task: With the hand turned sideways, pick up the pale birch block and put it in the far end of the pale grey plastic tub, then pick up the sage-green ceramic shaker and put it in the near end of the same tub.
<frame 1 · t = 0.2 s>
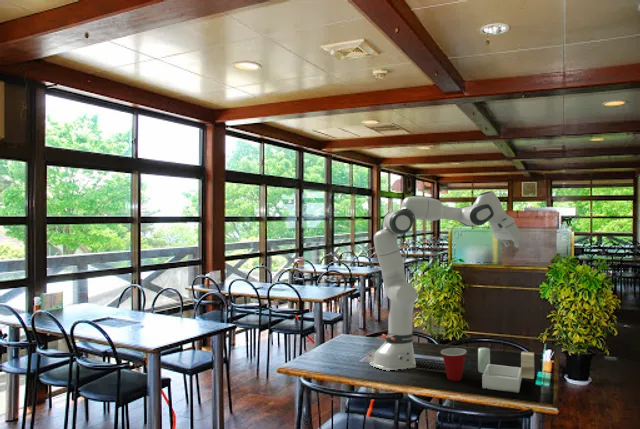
hand: (513, 246, 243), 54 cm above the table, tool tilted 30°, fingers open, 8 cm apart
plastic cup: (453, 379, 213), on the table
birch block: (527, 376, 215), on the table
ceramic shaker: (484, 371, 223), on the table
tub: (502, 383, 206), on the table
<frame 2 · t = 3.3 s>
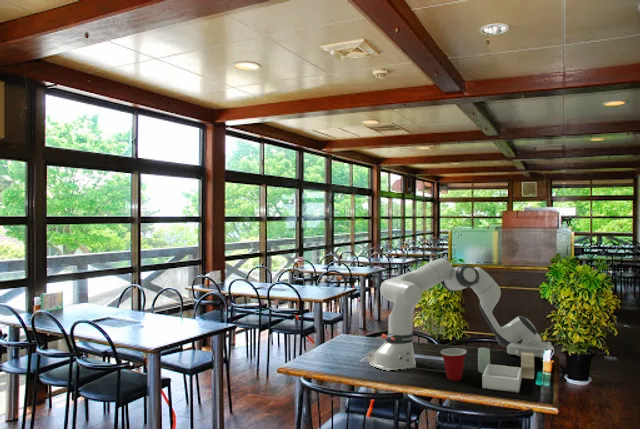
hand: (529, 355, 227), 6 cm above the table, tool horizontal, fingers open, 8 cm apart
nothing on the table moved.
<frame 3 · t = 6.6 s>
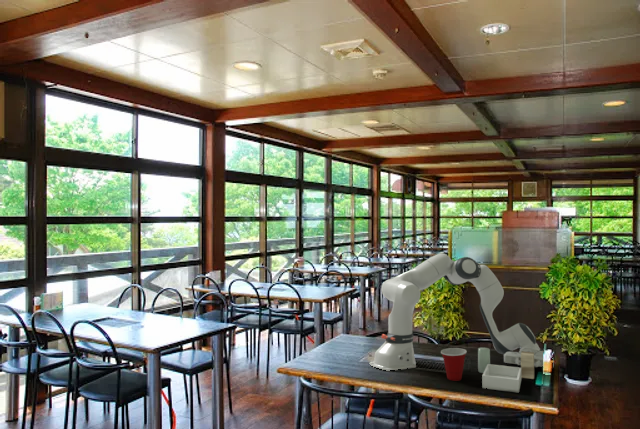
hand: (527, 364, 215), 6 cm above the table, tool horizontal, fingers closed on birch block, 5 cm apart
birch block: (527, 376, 215), on the table, touching gripper
everything else where it was.
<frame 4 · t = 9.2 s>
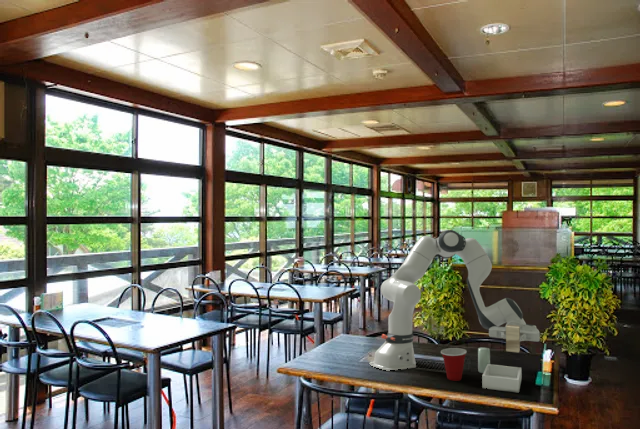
hand: (512, 337, 208), 19 cm above the table, tool horizontal, fingers closed on birch block, 5 cm apart
birch block: (513, 350, 209), point 13 cm above the table, touching gripper
everything else where it was.
when the fingers open (10 cm above the table, at t = 12.1 s): birch block drops 3 cm, resting on tub.
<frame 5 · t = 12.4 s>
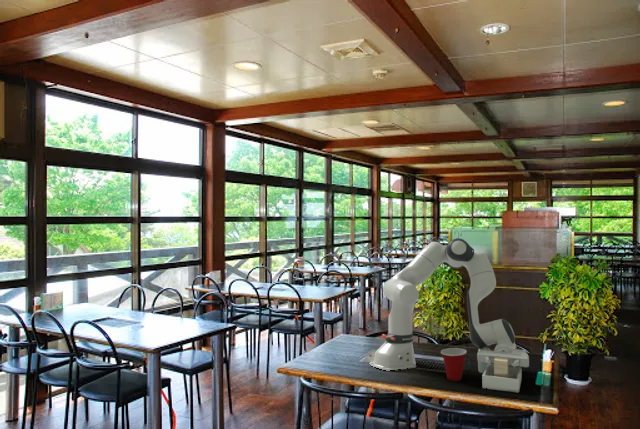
hand: (501, 363, 202), 10 cm above the table, tool horizontal, fingers open, 8 cm apart
birch block: (501, 384, 203), point 1 cm above the table, touching tub
ceramic shaker: (484, 371, 223), on the table, touching arm
everything else where it was.
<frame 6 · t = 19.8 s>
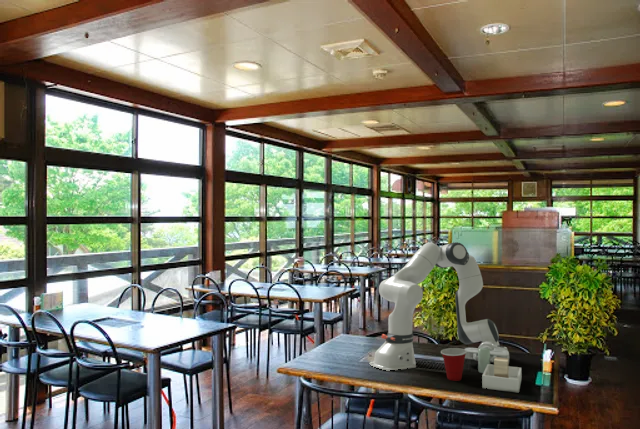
hand: (483, 359, 222), 6 cm above the table, tool horizontal, fingers closed on ceramic shaker, 5 cm apart
ceramic shaker: (484, 371, 223), on the table, touching gripper
everything else where it was.
when the fingers open (9 cm above the table, at t = 24.6 s): ceramic shaker drops 3 cm, resting on tub.
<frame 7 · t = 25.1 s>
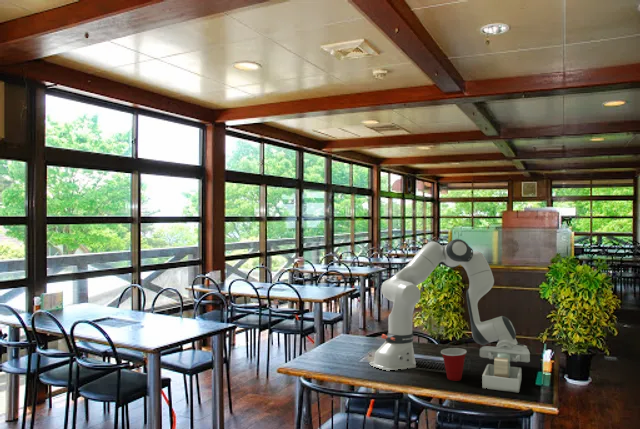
hand: (503, 358, 209), 9 cm above the table, tool horizontal, fingers open, 8 cm apart
ceramic shaker: (503, 378, 210), point 1 cm above the table, touching tub
everything else where it was.
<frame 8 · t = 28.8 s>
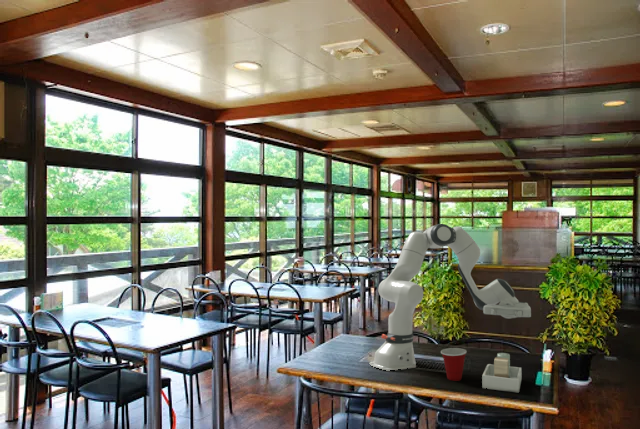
hand: (505, 313, 221), 26 cm above the table, tool horizontal, fingers open, 8 cm apart
nothing on the table moved.
at the end: birch block inside the target area on the tub (3.9 cm from its centre), point 1.0 cm above the tub's base; ceramic shaker inside the target area on the tub (4.1 cm from its centre), point 1.0 cm above the tub's base; the gripper is holding nothing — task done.
